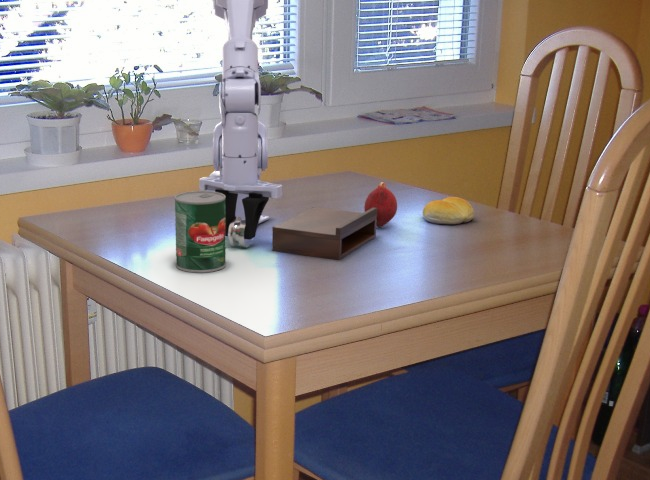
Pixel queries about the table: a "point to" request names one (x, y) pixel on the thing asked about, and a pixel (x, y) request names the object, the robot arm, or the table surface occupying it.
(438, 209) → the bread roll
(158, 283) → the table surface
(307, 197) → the table surface
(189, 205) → the canned tomato
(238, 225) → the grooved metal pulley
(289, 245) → the shelf
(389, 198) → the red squash
